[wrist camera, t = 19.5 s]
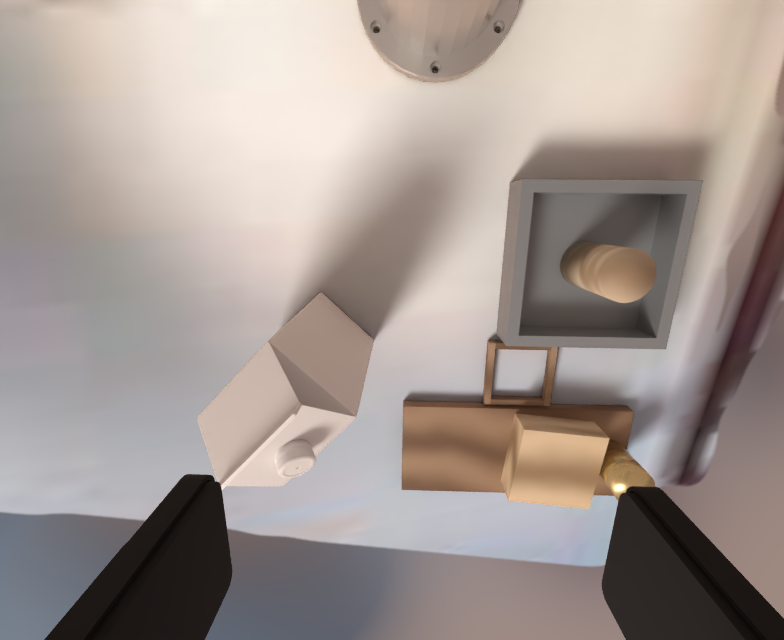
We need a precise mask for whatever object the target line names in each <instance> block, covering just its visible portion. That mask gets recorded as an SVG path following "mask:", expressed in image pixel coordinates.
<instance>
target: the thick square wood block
mask: <svg viewBox="0 0 784 640" xmlns="http://www.w3.org/2000/svg"><path fill="white" fill-rule="evenodd" d="M609 439H610V438H609V437H608V436H607V435H606V434H605V433H604V432H603V431H602V430H601V429H600V427H599V426H598V425H597V424H596V423H595V422H594V421H585V420H575V419H566V418H556V417H546V416H537V415H527V414H518V413H515V416H514V420H513V425H512V430H511V435H510V439H509V444H508V449H507V454H506V458H505V463H504V468H503V472H502V477H501V482H502V485H503V487H504V490H505V493H506V495H507V498H508V501H516V502H526V503H535V504H545V505H555V506H564V507H574V508H584V509H589V507H590V504H591V500H592V497H593V494H594V490H595V487H596V483H597V480H598V477H599V473H600V470H601V466H602V463H603V460H604V456H605V453H606V449H607V446H608V443H609Z"/></svg>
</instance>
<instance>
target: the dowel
mask: <svg viewBox="0 0 784 640" xmlns="http://www.w3.org/2000/svg"><path fill="white" fill-rule="evenodd" d="M560 271H561V274H562V276H563V278H564V279H565V280H566V281H567V282H568V283H570V284H572V285H575V286H577V287H580V288H582V289H585V290H588V291H590V292H593V293H595V294H598V295H600V296H603V297H605V298H608V299H610V300H613V301H616V302H619V303H629V302H633V301H636V300H638V299H640V298H642V297H643V296H644V295H646V294H647V293H648V291H649V290H650V289H651V287H652V286H653V284H654V282H655V279H656V273H657V269H656V264H655V261H654V259H653V258H652V257H651V256H650V255H649V254H648V253H647V252H645V251H643V250H640V249H634V248H627V247H620V246H613V245H607V244H600V243H593V242H579V243H576V244H574V245H572V246H571V247H569V248H568V249H567V250H566V251H565V253H564V254H563V256H562V258H561V262H560Z"/></svg>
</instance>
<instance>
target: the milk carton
mask: <svg viewBox="0 0 784 640" xmlns="http://www.w3.org/2000/svg"><path fill="white" fill-rule="evenodd" d="M373 342H374V340H373V339H372V338H371V337H370V336H369V335H368V334H367V333H365V332H364V331H363V330H362V329H361V328H360V327H359V326H358V325H357V324H356V323H355V322H353V321H352V320H351V319H350V318H349V317H348V316H347V315H346V314H345V313H344V312H343V311H341V310H340V309H339V308H338V307H337V306H336V305H335V304H334V303H333V302H332V301H330V300H329V299H328V298H327V297H326V296H325V295H324V294H323V293H322V292H320V293H319V294H318V295H317V296H316V297H315V298H314V299H312V300H311V301H310V302H309V303H308V304H307V305H306V306H305V307H304V308H303V309H302V310H301V311H300V312H299V313H298V314H296V315H295V316H294V317H293V318H292V319H291V320H290V321H289V322H288V323H287V324H286V325H285V326H284V327H283V328H281V329H280V330H279V331H278V332H277V333H276V334H275V335H274V336H273V337H272V338H271V339H270V340H269V341H268V342H267V343H265V344H264V345H263V347H262V348H261V349H260V350H259V351H258V352H257V353H256V354H255V355H254V356H253V357H252V358H251V359H250V360H249V362H248V363H247V364H246V365H245V366H244V367H243V368H242V369H241V370H240V371H239V372H238V373H237V375H236V376H235V377H234V378H233V379H232V380H231V381H230V382H229V383H228V384H227V385H226V386H225V388H224V389H223V390H222V391H221V392H220V393H219V394H218V395H217V396H216V397H215V398H214V399H213V400H212V402H211V403H210V404H209V405H208V406H207V407H206V408H205V409H204V410H203V411H202V413H201V414H200V415H199V416H198V418H197V420H198V423H199V426H200V429H201V432H202V435H203V439H204V442H205V445H206V448H207V451H208V454H209V457H210V460H211V463H212V466H213V469H214V472H215V475H216V478H217V481H218V482H219V483H220V484H221V489H222V490H223V489H224V488H225V487H226V486H283V485H284V484H286V483H287V482H288V481H289V480H290V479H291V478H293V477H297V476H299V475H302V474H304V473H305V472H307V471H308V470H309V469H311V468H312V467H313V465H314V464H315V462H316V457H315V456H316V455H317V454H318V453H319V452H320V451H321V450H323V449H324V448H325V447H326V446H327V445H328V444H329V443H330V442H331V441H332V440H333V439H334V438H335V437H336V436H337V435H339V434H340V433H341V432H342V431H343V430H344V429H345V428H346V427H347V426H348V425H349V424H350V423H351V422H352V421H353V420H354V419H355V418H356V415H357V412H358V408H359V404H360V399H361V395H362V390H363V386H364V382H365V377H366V373H367V369H368V364H369V360H370V355H371V351H372V347H373Z"/></svg>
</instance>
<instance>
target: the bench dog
mask: <svg viewBox="0 0 784 640" xmlns="http://www.w3.org/2000/svg"><path fill="white" fill-rule="evenodd" d="M599 476H600V477H601V479H602V480H603V481H604V483H605V484H606V485H607V486H608V488H609V489H610V490H611V492H612V493H613V494H614V496H615V497H616V498H617V500H618V501H619V497H620V495H621V494H622V493H626V490H627V489H628V488H629V487H631V486H643V487H655V483H654V480H653V478H652V477H651V476H650V475H649V474H648V473H647V472H646V471H645V470H644V469H643V468H642V467H641V465H640V464H639V463H638V462H637V461H636V460H635V459H634V458H633V457H632V456H631V455H630V454H629V453H628V452H627V451H626V450H625V449H624V448H623V447H622V446H621V444H619V443H618V442H617V441H614V440H610V439H609V443H608V446H607V449H606V453H605V456H604V460H603V463H602V466H601V470H600V473H599Z"/></svg>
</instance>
